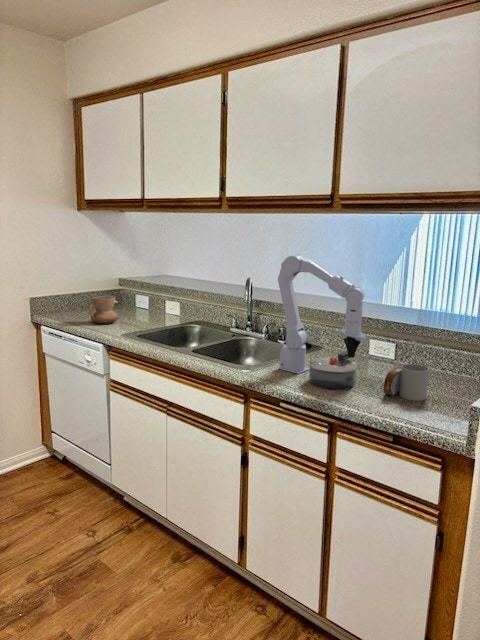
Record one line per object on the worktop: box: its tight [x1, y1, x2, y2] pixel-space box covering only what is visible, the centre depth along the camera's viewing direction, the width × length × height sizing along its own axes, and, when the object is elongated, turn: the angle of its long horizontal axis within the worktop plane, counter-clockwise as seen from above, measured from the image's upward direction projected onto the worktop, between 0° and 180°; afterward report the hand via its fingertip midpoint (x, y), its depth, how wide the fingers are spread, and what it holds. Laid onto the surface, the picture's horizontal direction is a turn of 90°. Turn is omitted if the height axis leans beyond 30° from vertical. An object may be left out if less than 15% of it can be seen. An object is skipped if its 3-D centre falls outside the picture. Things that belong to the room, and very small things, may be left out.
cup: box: [399, 363, 430, 402], centre depth 161 cm, size 8×8×10 cm
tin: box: [383, 365, 402, 396], centre depth 165 cm, size 15×3×8 cm, turn 141°
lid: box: [309, 350, 358, 373], centre depth 175 cm, size 21×16×3 cm
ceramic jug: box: [88, 295, 119, 325], centre depth 265 cm, size 18×14×14 cm
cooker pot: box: [308, 360, 357, 391], centre depth 176 cm, size 16×21×6 cm
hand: (351, 357), depth 179 cm, fingers closed
